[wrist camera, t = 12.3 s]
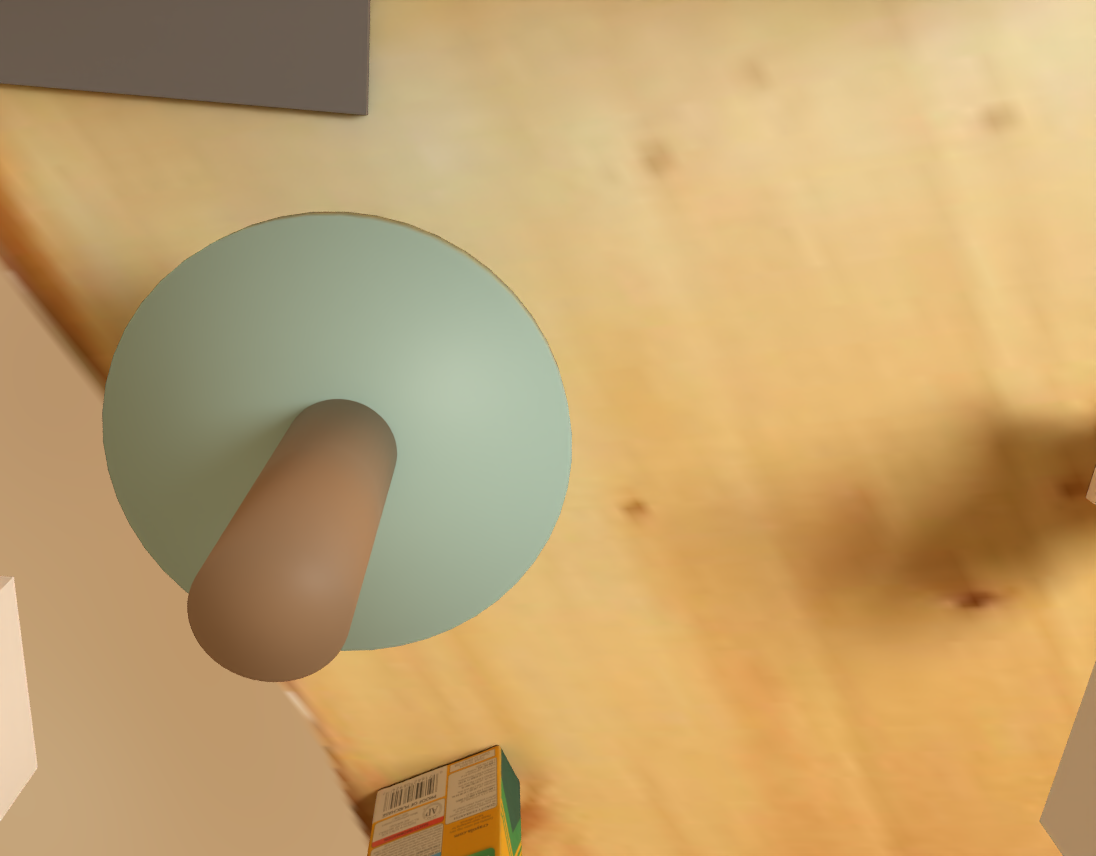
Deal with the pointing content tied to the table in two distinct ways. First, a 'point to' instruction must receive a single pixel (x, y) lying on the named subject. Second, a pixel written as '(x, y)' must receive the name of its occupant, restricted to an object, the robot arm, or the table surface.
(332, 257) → the lid
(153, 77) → the mat
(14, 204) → the table surface
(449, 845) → the crayon box
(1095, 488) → the character figure
